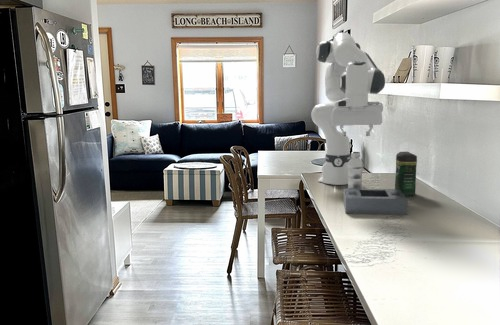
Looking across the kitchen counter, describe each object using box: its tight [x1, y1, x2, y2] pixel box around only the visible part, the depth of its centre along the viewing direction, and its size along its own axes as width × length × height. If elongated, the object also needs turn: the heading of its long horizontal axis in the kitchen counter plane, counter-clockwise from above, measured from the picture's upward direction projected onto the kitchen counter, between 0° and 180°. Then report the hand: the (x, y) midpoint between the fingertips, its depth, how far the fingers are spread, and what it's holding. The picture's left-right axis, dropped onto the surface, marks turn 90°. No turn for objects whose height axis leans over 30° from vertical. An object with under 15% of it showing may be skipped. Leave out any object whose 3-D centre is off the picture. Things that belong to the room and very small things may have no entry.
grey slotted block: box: [342, 187, 408, 216], centre depth 164 cm, size 15×22×6 cm
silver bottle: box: [347, 151, 364, 189], centre depth 177 cm, size 6×7×20 cm
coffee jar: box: [394, 151, 418, 197], centre depth 183 cm, size 10×8×19 cm
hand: (356, 136), depth 174 cm, fingers open, 8 cm apart
